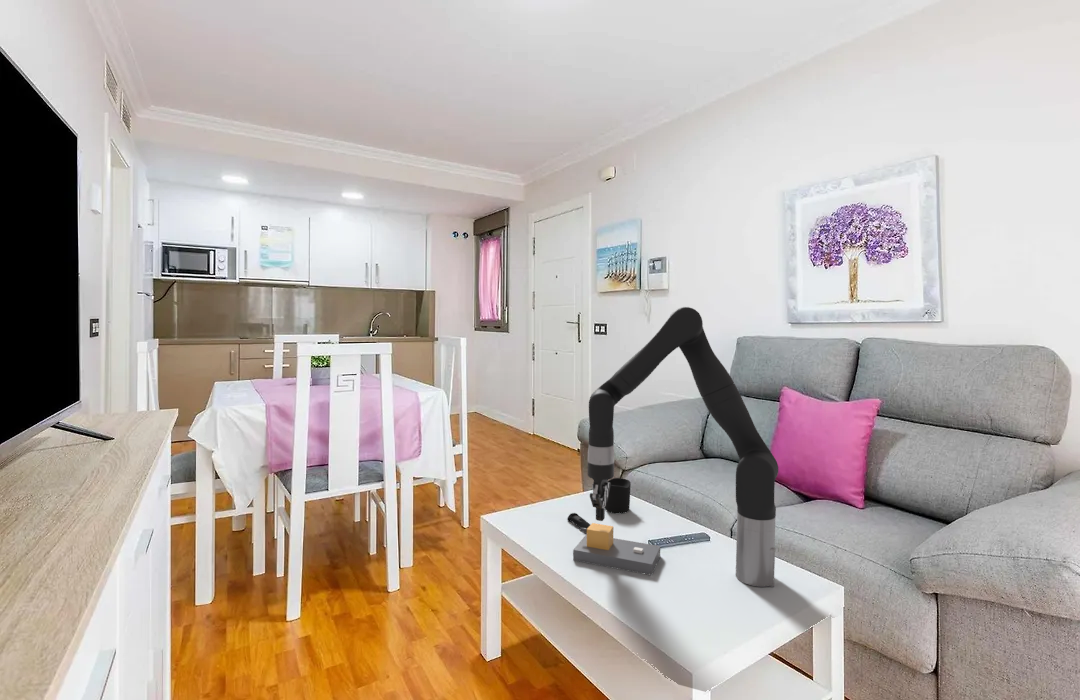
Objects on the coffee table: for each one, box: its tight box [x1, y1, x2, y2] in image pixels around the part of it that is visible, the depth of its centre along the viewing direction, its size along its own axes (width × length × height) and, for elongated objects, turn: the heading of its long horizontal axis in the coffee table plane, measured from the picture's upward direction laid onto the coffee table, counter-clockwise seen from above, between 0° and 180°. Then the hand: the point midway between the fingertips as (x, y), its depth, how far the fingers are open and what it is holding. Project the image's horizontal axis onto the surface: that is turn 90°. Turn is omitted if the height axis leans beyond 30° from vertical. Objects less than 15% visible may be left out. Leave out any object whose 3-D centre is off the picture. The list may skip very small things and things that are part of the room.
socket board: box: [572, 533, 661, 576], centre depth 148 cm, size 22×12×4 cm, turn 67°
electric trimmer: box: [566, 512, 591, 530], centre depth 170 cm, size 4×16×3 cm, turn 25°
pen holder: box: [605, 477, 632, 514], centre depth 186 cm, size 9×9×10 cm
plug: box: [579, 522, 614, 550], centre depth 151 cm, size 9×5×8 cm, turn 66°
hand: (600, 519), depth 150 cm, fingers closed
